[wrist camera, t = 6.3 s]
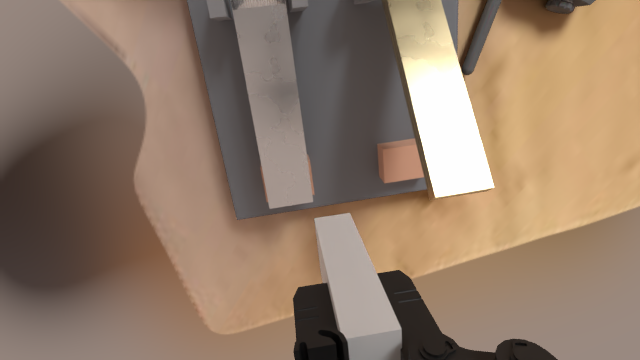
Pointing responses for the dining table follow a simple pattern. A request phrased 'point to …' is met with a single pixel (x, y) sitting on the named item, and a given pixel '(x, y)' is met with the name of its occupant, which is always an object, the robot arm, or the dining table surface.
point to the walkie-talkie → (560, 3)
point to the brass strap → (437, 99)
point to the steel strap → (273, 99)
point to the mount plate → (318, 102)
